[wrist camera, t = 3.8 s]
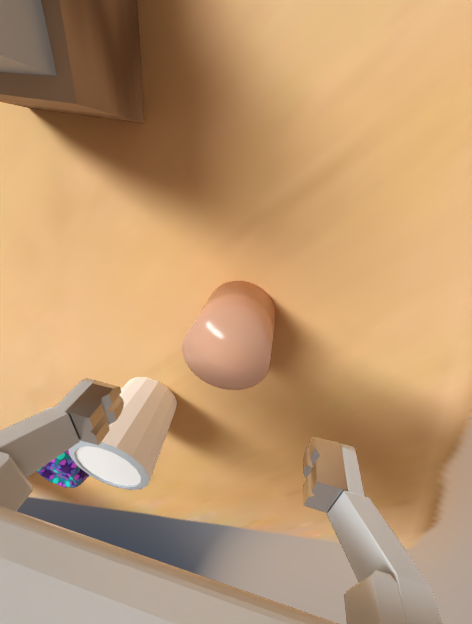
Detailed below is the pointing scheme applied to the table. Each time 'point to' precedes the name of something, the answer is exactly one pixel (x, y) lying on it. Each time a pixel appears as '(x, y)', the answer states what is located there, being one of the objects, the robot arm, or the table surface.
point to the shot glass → (130, 437)
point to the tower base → (86, 62)
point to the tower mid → (24, 39)
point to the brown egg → (232, 337)
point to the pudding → (63, 471)
